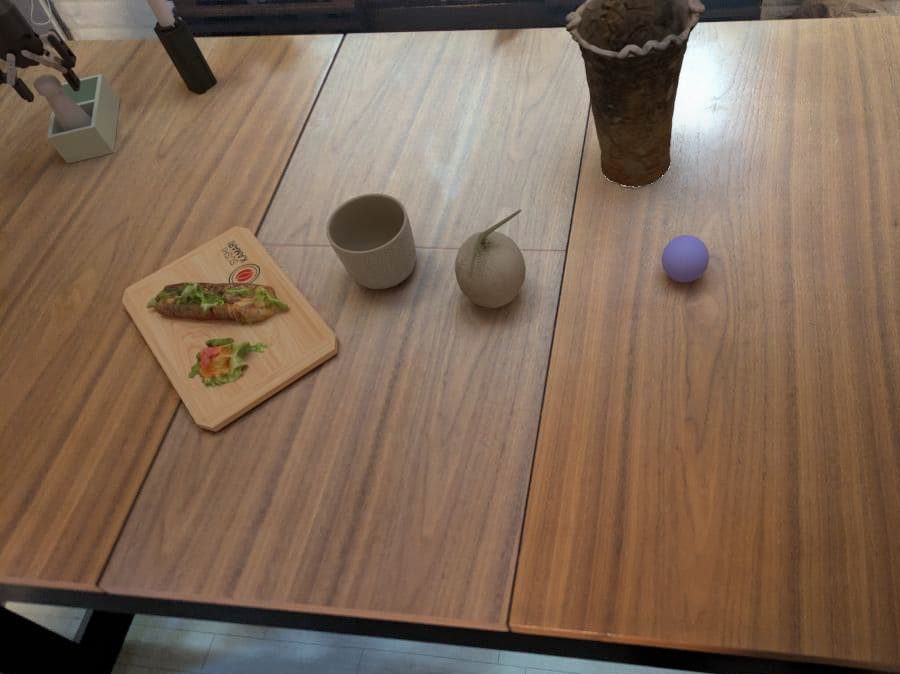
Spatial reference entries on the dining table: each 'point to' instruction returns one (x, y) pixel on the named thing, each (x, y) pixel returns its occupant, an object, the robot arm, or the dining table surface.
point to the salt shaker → (61, 103)
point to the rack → (102, 131)
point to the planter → (373, 240)
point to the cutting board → (228, 327)
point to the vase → (633, 79)
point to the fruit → (490, 267)
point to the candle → (182, 48)
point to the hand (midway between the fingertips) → (54, 94)
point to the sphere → (685, 258)
